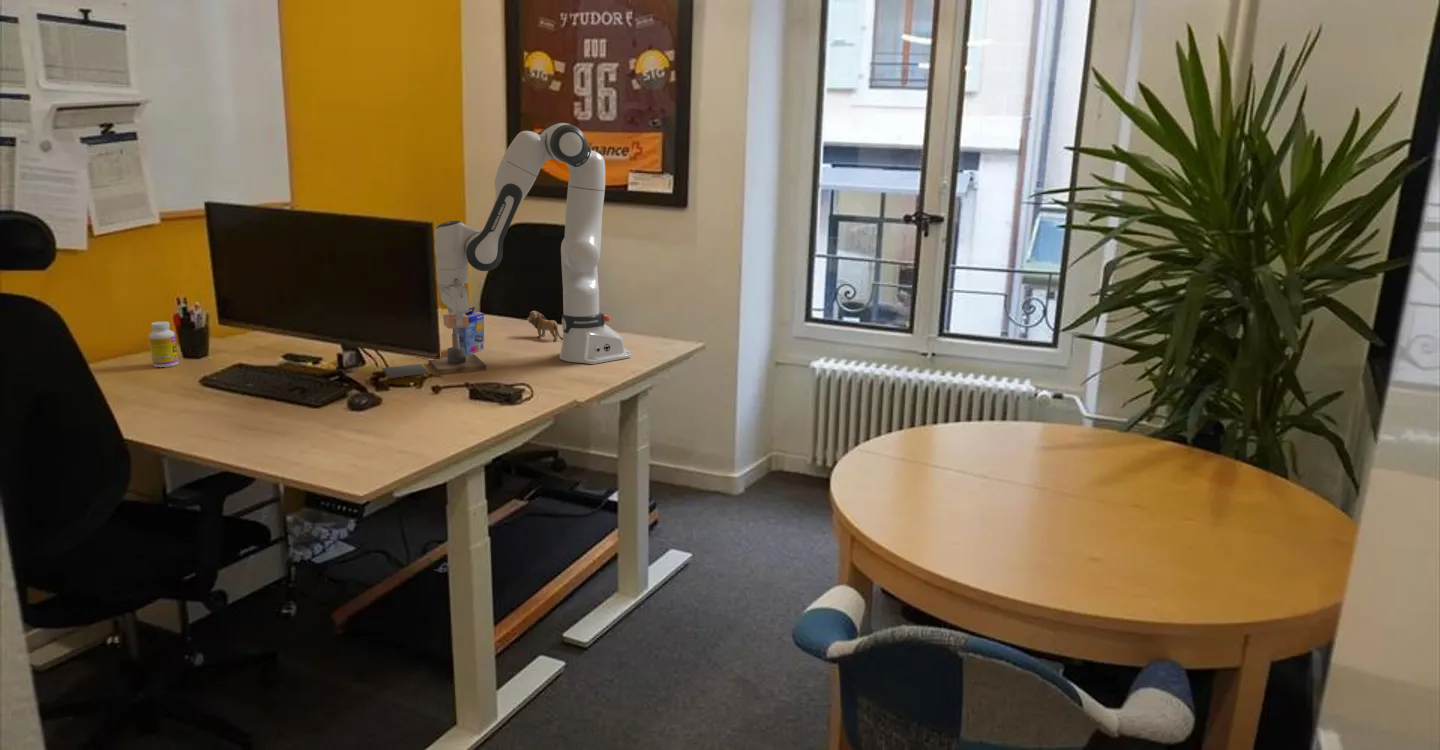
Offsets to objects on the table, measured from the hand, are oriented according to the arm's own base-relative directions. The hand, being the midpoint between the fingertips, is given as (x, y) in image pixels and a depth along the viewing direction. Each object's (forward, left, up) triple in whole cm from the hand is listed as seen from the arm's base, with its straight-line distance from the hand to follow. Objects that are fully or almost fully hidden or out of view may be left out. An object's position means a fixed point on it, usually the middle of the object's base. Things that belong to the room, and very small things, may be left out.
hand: (456, 322), depth 285 cm
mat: (+15, 0, -14) cm, 20 cm away
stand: (0, 0, -13) cm, 13 cm away
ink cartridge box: (-8, -17, -14) cm, 23 cm away
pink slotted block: (0, 0, -1) cm, 1 cm away
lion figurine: (-35, -24, -14) cm, 45 cm away
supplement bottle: (+77, -36, -14) cm, 86 cm away
